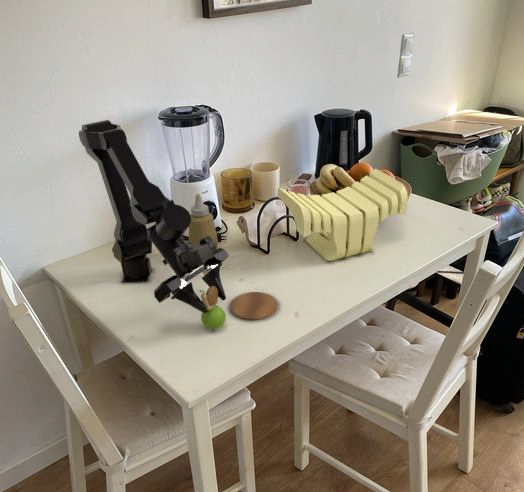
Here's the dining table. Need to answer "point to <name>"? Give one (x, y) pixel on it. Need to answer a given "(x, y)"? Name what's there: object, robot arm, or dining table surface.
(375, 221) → the slatted curved stool
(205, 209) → the squeeze bottle
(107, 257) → the dining table surface
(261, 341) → the dining table surface
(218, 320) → the snail figurine
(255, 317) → the plate
